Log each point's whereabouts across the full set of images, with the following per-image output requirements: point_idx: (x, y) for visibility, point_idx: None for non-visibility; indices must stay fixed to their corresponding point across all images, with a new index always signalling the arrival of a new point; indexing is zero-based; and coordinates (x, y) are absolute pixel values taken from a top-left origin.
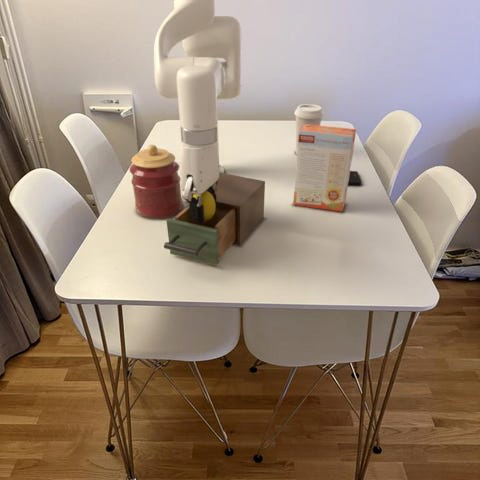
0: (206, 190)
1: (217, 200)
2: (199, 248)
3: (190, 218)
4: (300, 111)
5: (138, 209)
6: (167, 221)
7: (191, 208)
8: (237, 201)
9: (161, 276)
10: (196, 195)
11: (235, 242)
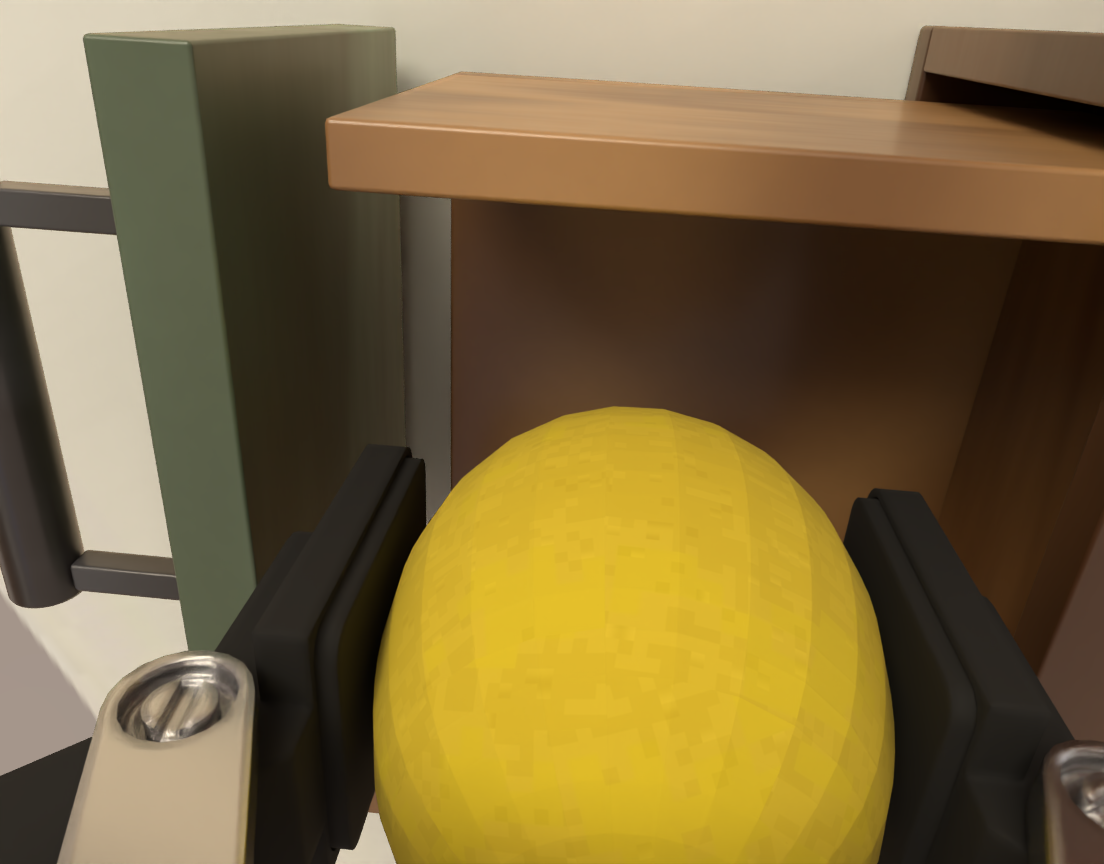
0: (988, 840)
1: (1081, 700)
2: (116, 591)
3: (368, 445)
4: None
5: None
6: (94, 60)
7: (221, 651)
8: None
9: (16, 114)
10: (466, 826)
11: None
